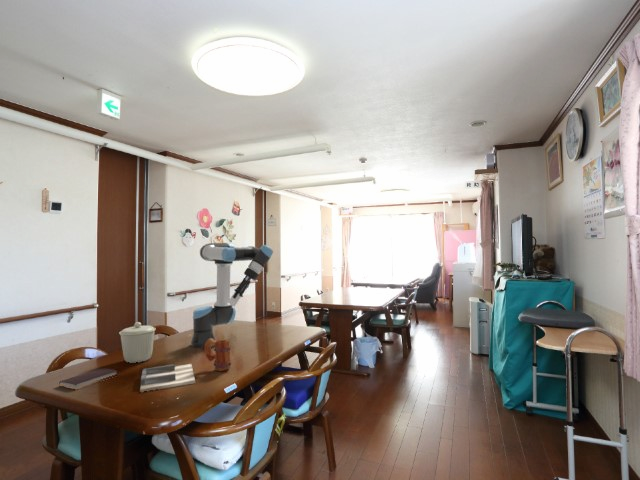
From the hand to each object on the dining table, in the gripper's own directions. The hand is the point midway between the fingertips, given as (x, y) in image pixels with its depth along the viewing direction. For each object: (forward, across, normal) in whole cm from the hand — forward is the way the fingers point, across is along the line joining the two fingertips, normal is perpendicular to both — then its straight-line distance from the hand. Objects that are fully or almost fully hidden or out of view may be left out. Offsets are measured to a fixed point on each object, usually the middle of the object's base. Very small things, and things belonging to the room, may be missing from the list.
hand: (231, 304), depth 184 cm
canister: (+50, +26, +29) cm, 64 cm away
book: (+63, -1, +36) cm, 72 cm away
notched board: (+43, -7, +5) cm, 44 cm away
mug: (+30, -1, -13) cm, 32 cm away
